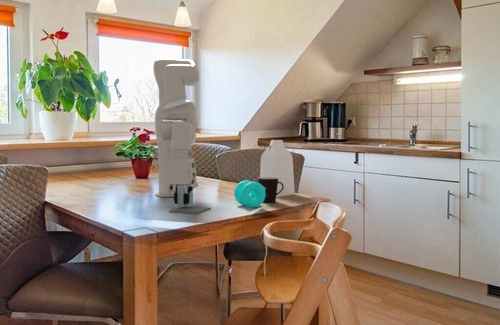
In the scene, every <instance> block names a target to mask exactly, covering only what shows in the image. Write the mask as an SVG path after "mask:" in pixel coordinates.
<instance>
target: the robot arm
mask: <svg viewBox="0 0 500 325" xmlns="http://www.w3.org/2000/svg"><path fill="white" fill-rule="evenodd" d="M199 72H200V71H199V69H198V66H197V65H196V63H195V62H194V60H191V59H182V58H181V59H180V58H178V59H177V58H159V59H156V60H154V62H153V75H154V79H155V82H156V84H157V87H158V106H157V109H156V110H155V114H154V126H155V129H154V130H155V136H156V143H157V155H158V166H157V167H158V172H157V173H158V174H157V175H158V192H155V193H154V195H155V197H163V198H172V197H173V201H174V205H177V185H184V190H185V194H183V204H189V201H190V193H191V191H192V190H193V191H194V189H196V188H197V187H198V186H199V183H198V182H197V169H196V168H197V167H196V162H195V158H192V157H193V156H195V151H193V149H192V146H193V145H194V144H195V143H196V139H197V138H196V137H197V126H196V125H197V119H196V118H197V117H196V116H197V115H196V110H197V109H196V106H195V103H194V102H193V101H191V100H189V99H187V92H186V86H187V87H188V86H189V87H195V86H197V85H198V84H199V80H200V73H199ZM191 184H193V185H192V186H190V185H191Z"/></svg>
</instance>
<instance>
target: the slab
mask: <svg viewBox="0 0 500 325" xmlns="http://www.w3.org/2000/svg"><path fill="white" fill-rule="evenodd" d="M192 185H193V184H191V185H190V186H192ZM183 194H185V190H184V185H177V204H176V206H177V208H180V207H186V206H193V205H194V189H193V190H192V191H191V193H190V201H189V204H183Z"/></svg>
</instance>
